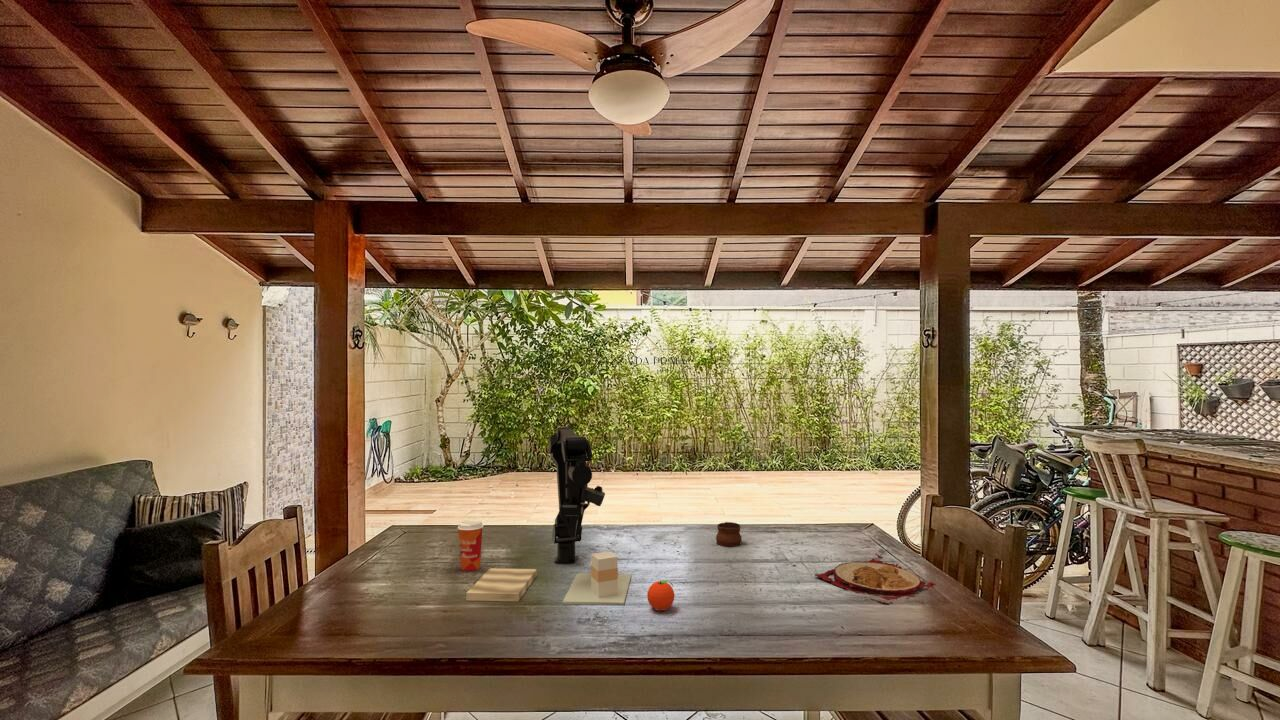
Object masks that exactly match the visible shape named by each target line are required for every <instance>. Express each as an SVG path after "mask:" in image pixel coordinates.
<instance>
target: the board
mask: <svg viewBox="0 0 1280 720" xmlns="http://www.w3.org/2000/svg"><path fill="white" fill-rule="evenodd" d="M537 574H538V573H537V569H536V568H495V567H494V568H492V567H491V568H489V569H488V570H487V571H485V573H484V574H483V575H482V576H481V577H480V578H479V580H478V581H477V582H475V584H473V586H472V587H471V588H470V589H469V590H467V592H466V595H465V600H466V602H467V601H470V602H471V601H474V602H519V601H520V600H521V599H522V597H524V595H525V593H526V592H527V590H528V589H529V587H530V586H531V584H532V583H533V582H534V580H535V579H536V578H537Z"/></svg>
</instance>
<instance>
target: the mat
mask: <svg viewBox="0 0 1280 720" xmlns="http://www.w3.org/2000/svg"><path fill="white" fill-rule="evenodd" d="M631 579H632V574H631V573H630V574H629V573H618V594H617V595H611V596H605V597H599V598H598V597H597V596H596V595H595V594H594V593H593V592H592V591H591V573H585V572H584V573H576V576H574V579H573V581H572V582H571V585H570V586H569V589H568V590H567V593H566V594H565V596H564V598H563V600H562V605H597V606H598V605H601V606H602V605H603V606H604V605H605V606H606V605H607V606H608V605H610V606H612V605H613V606H625V603H626V600H627V599H626V598H627V594H628V590H629V587H630V582H631Z"/></svg>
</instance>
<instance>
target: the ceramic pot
mask: <svg viewBox="0 0 1280 720" xmlns="http://www.w3.org/2000/svg"><path fill="white" fill-rule="evenodd" d="M740 531H741V525H740V524H739V523H737V522H728V521H724V522H720V523H718V524H717V533H716V536H715V540H716V545H717V546H719V547H723V548H735V547H738V546H740V545H741V543H742V535H741V534H740Z"/></svg>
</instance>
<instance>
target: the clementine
mask: <svg viewBox="0 0 1280 720" xmlns="http://www.w3.org/2000/svg"><path fill="white" fill-rule="evenodd" d="M646 598H647V602H648V604H649V605H650V606H651V607H652V608H653V609H654V610H657V611H665V610H668V609H669V608H670V607H671V606H672V605H673V604H674V601H675V591H674V586H673V583H672V582H671V581H668V580H658V581H655V582H653V583H652V584H651V585H650V586H649V588H648V590H647V594H646Z"/></svg>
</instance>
